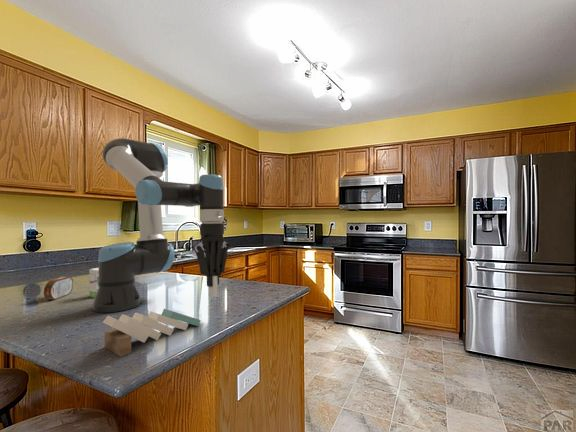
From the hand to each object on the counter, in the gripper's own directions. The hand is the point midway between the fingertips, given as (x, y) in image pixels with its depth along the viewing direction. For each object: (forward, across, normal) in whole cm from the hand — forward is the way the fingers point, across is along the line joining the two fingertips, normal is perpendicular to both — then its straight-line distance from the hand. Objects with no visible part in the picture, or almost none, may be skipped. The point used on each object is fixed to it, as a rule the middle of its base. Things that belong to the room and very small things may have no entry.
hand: (213, 296), depth 96 cm
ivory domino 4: (+6, -11, 0) cm, 13 cm away
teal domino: (+6, -7, 0) cm, 9 cm away
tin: (+7, -22, +76) cm, 79 cm away
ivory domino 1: (+6, -23, 0) cm, 24 cm away
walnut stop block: (+7, -29, 0) cm, 30 cm away
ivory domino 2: (+6, -20, 0) cm, 21 cm away
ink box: (+7, -10, +64) cm, 65 cm away
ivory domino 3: (+6, -16, 0) cm, 17 cm away
